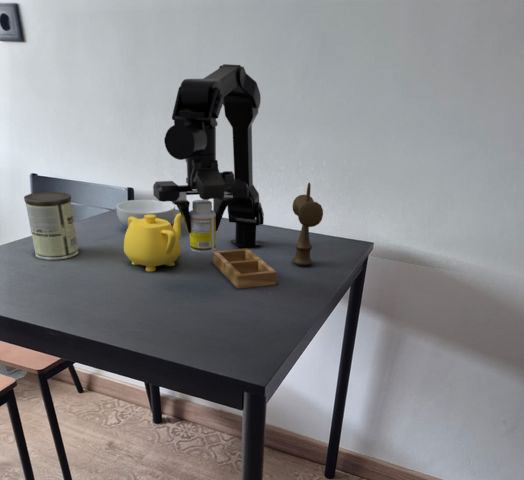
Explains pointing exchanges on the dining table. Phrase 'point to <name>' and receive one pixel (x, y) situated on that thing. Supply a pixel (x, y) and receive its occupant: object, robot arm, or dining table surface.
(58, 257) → the coffee can
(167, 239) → the teapot
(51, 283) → the dining table surface
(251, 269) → the caddy
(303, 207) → the kendama
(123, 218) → the cereal bowl
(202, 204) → the supplement bottle
